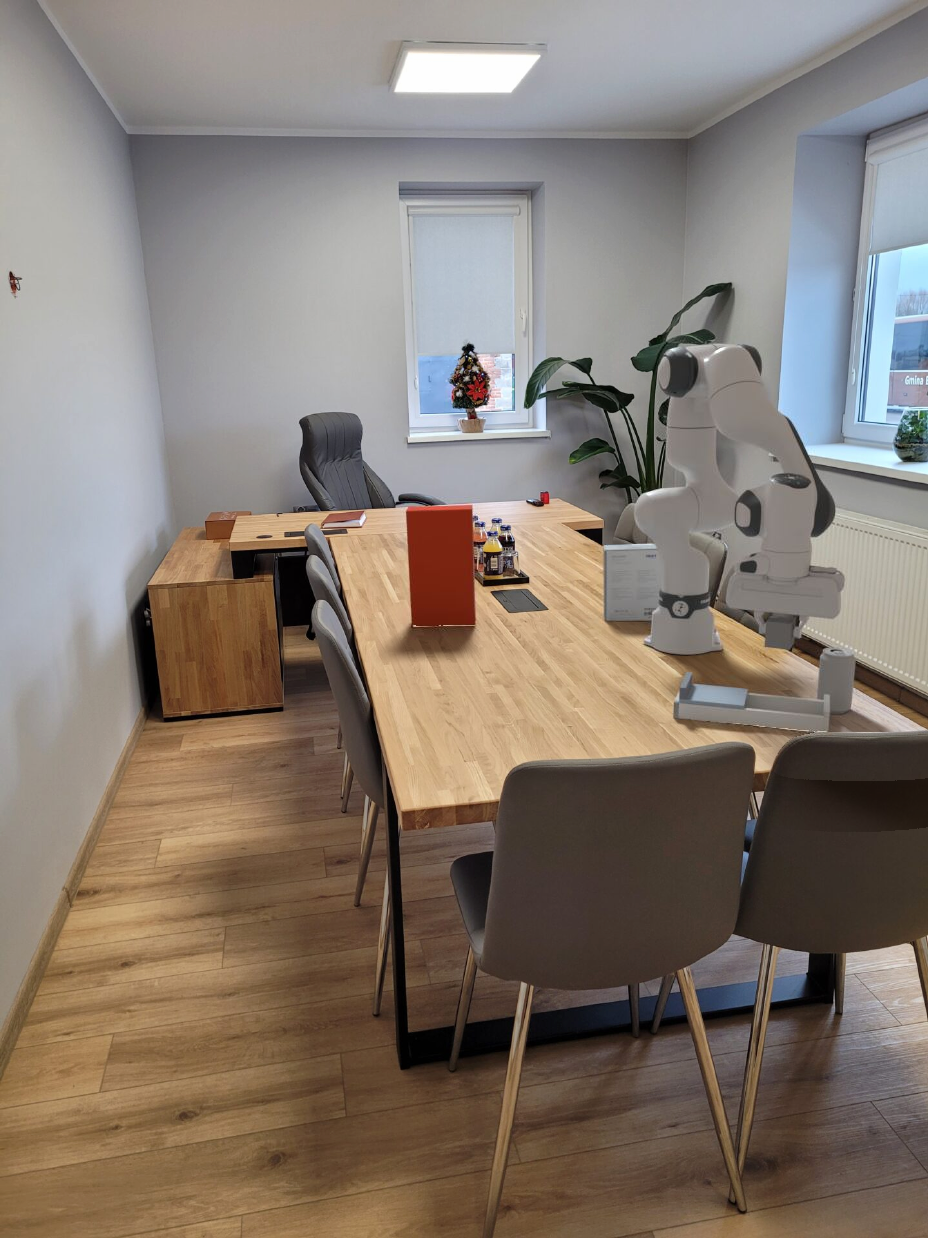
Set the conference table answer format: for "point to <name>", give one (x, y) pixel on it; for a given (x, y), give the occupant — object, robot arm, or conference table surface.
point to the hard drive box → (631, 581)
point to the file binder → (441, 565)
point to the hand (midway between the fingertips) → (779, 635)
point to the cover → (711, 694)
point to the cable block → (779, 632)
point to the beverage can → (836, 678)
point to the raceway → (764, 712)
